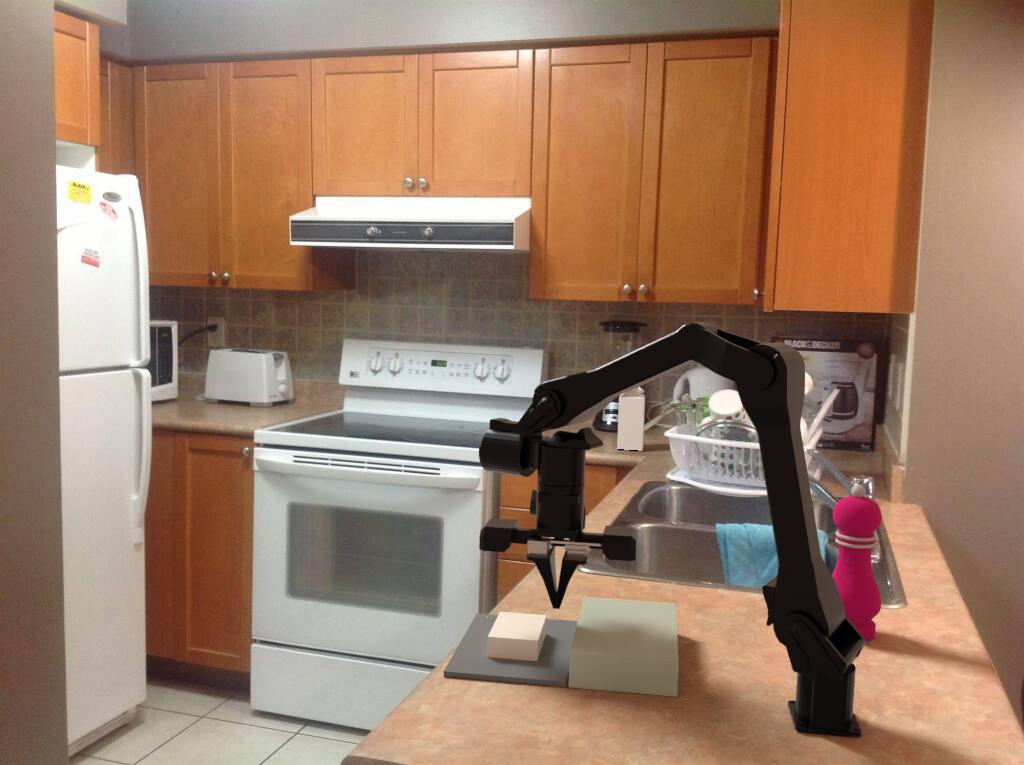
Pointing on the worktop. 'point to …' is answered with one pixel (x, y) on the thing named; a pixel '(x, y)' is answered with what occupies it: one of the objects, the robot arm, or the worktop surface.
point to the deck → (625, 647)
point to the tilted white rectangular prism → (517, 636)
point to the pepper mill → (857, 559)
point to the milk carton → (631, 420)
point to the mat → (545, 671)
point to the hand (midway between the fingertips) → (556, 607)
